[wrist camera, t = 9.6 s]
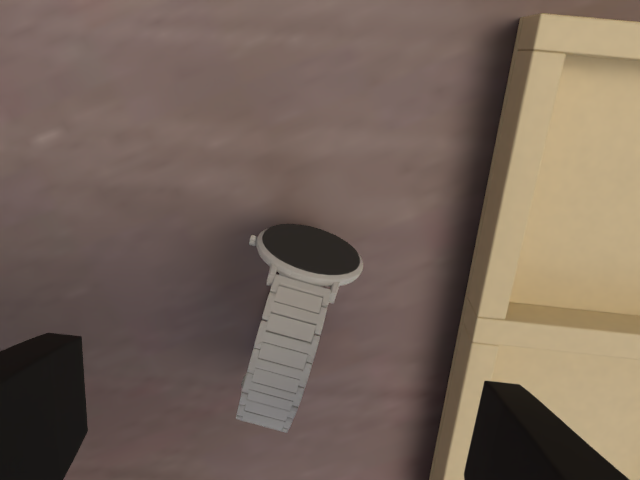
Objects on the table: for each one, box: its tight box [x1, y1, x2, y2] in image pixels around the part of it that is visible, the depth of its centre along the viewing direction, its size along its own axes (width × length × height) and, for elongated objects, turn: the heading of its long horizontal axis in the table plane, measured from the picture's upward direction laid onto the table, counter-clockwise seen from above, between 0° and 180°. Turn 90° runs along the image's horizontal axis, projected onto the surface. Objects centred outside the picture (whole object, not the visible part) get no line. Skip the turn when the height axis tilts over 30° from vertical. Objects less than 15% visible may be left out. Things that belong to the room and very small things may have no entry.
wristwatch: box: [236, 224, 363, 433], centre depth 14 cm, size 3×5×5 cm, turn 164°
